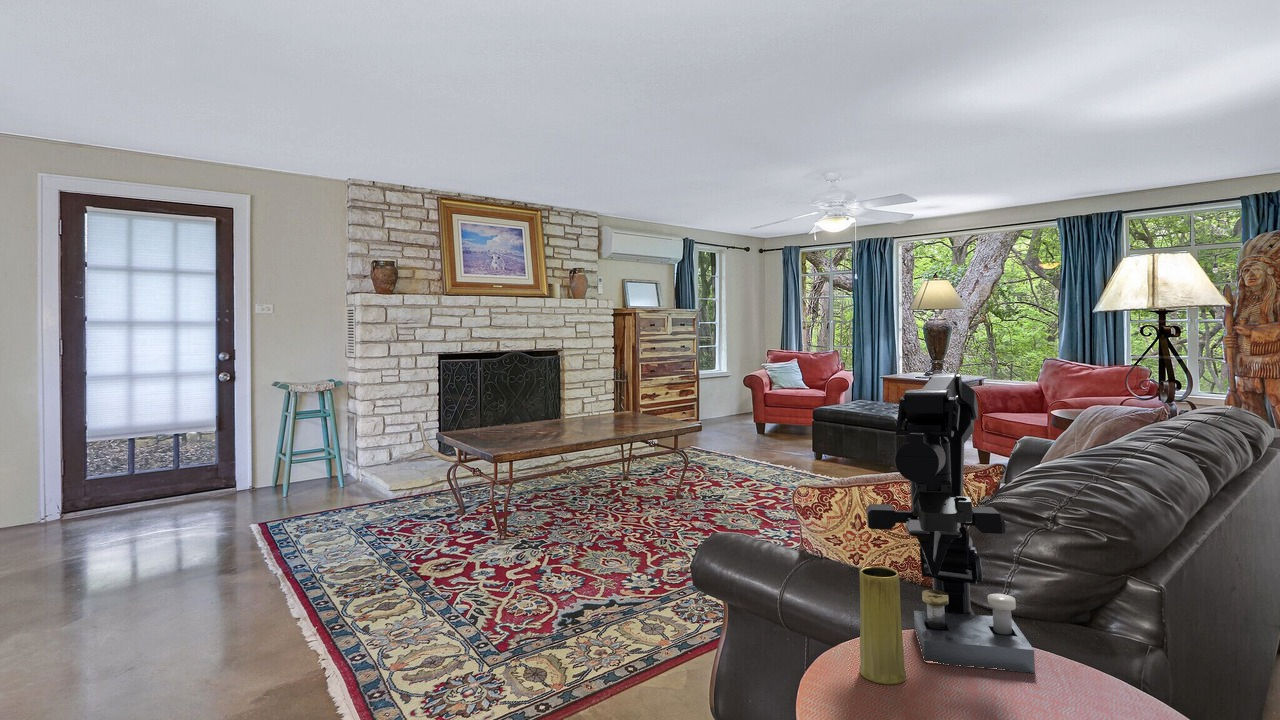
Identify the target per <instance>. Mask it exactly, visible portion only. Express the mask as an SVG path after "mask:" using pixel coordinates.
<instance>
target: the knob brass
mask: <svg viewBox="0 0 1280 720" xmlns="http://www.w3.org/2000/svg"><path fill="white" fill-rule="evenodd" d="M921 594H922V595H921V597H922V602H923V603H924V604H926V612H927V618H928V626H929V627H930V628H933V629H944V628H945V611H944V606H945V605H948V603H949V602H948V594H947V593H946V592H943V591H939V590H933V589H925V590H922V593H921Z"/></svg>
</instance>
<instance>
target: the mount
mask: <svg viewBox="0 0 1280 720" xmlns="http://www.w3.org/2000/svg"><path fill="white" fill-rule="evenodd" d="M913 619H914V620H913V621H914V622H913V623H914V631H915V630H916V632H917V636H918V639H919V642H920V646H921V649H922V653H923V656H924V659H923V661H924V660H925V661H933V662H938V663H941V664H943V663H944V664H949V665H958V666H957V667H960V666H959V665H961V666H974V667H984V668H997V669H1005V670H1012V671H1011V672H1015V671H1019V672H1018V673H1026V672H1028V673H1027V674H1036V667H1035V666H1036V665H1035V649H1034V648H1033V646H1032V645H1031V644H1030V642H1029V640H1028V639H1027V638H1026V636H1025V635H1024V633H1023V632H1022V631H1021V629H1020V628H1019V627H1018V626H1017V624H1016V622H1015V621H1014V619H1012V634H1008V635H1006V634H999V633H996V632H995V631H994V629H993V615H982V614H975V615H969V614H955V613H945V628H944V629H933V628H930V627H929V626H928V618H927V610H925V611H923V610H913ZM917 636H916V637H917ZM920 646H919V647H920ZM921 649H920V650H921ZM922 653H921V654H922ZM923 656H922V657H923ZM949 665H948V666H949ZM1029 672H1030V673H1029Z"/></svg>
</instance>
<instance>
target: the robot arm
mask: <svg viewBox="0 0 1280 720" xmlns="http://www.w3.org/2000/svg"><path fill="white" fill-rule="evenodd" d="M897 411H898V412H897V419H896V421H897V422H896V428H895V436H896V437H897V436H898V437H899V436H900V437H906V443H904V444H903V445H902V446H900V447H899V449H898V450H897V452H896V455H895V458H894V459H895V460H894V462H895V467H896V469H897V471H898V472H899V474H900V475H901V476H902V477H903V478H904V479H906V480H908V481H909V482H910V504H911V510H895V508H894V506H893V504H884V503H881V504H879V503H869V504H868V505H867V507H866V523H867V527H868V529H870V530H882V531H883V530H884V531H885V530H886V531H887V530H892V529H893V528H894V527H895V526H896V524H904V526H905V527H904V528H905V530H906V532H907V534H908V536H911V537H916V539H917V541H918V543H919V545H920V546H919V559H920V568H921V576H922V578H930V579H931V578H932V590H939V591H943V592H946V593H947V594H948V602H949V603H948V605H945V606H944V611H945V613H955V614H969V615H976V614H975V612H974V611H973V609H972V607H971V587H970V584H973V585H977V584H978V583H982V582H983V568H982V566H983V565H982V560H981V556H980V555H979V554H978V552H977V548H976V547H975V546H973V539H972V537H971V535H970V533H969V532H968V530H967V528H966V527H965V526H971V527H973V526H975V528H976V529H977V530H978V531H979V532H981V533H982V534H995V535H997V534H998V535H1003V534H1006V521H1005V517H1004V516H1003V515H1002V514H1001V513H1000V512H999V511H998V510H997V509H995V508H994V507H992V506H972V505H973V503H972V499H971V497H970V496H964V473H965V472H964V470H965V467H964V465H965V462H964V461H965V444H966V443H967V441H968V440H969V438H970V437H971V436H972V435H973V433H974V432H975V421H977V420H978V419H979V405H978V400H977V394H976V391H975V389H973V388H972V387H970V386H969V385H968V384H966V383H964V382H963V380H962V375H961V374H957V373H956V372H955V373H933V374H932V375H929V376H928V382H926V384H924V386H923V387H922V388H921V389H916V388H915V389H907V390H905V392H904V393H903V397H902V396H901V397H899V403H898V410H897Z"/></svg>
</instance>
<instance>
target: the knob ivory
mask: <svg viewBox="0 0 1280 720" xmlns="http://www.w3.org/2000/svg"><path fill="white" fill-rule="evenodd" d="M1016 604H1017V603H1016V598H1015V597H1014V596H1011V595H1010V594H1009V595H1008V594H1003V593H989V594H988V595H987V605H988V607H990V608H992V616H993V629H994V631H995V632H996V633H999V634H1006V635H1008V634H1012V620H1013V618H1012V611H1015V610H1016V609H1017V608H1016V607H1017V606H1016Z"/></svg>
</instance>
